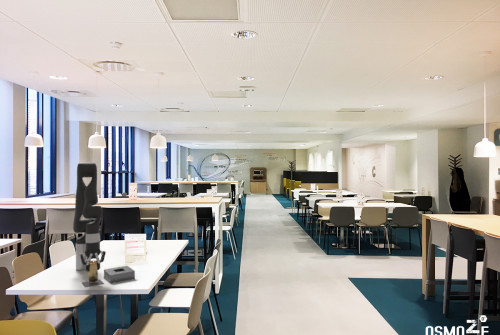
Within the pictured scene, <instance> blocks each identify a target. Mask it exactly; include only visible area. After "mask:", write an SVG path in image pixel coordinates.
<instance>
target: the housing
mask: <svg viewBox="0 0 500 335" xmlns="http://www.w3.org/2000/svg"><path fill="white" fill-rule="evenodd" d="M135 272H136V270H134V269H132V268H131V267H130V266H128V265H124V266H118V267H117V266H116V267H111V268H104V269H103V278H104V280H106V281H107V282H108V283H110V284H113V283H119V282H124V281H131V280H135V277H136V276H135V274H136V273H135Z"/></svg>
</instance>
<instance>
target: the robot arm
mask: <svg viewBox="0 0 500 335" xmlns="http://www.w3.org/2000/svg"><path fill="white" fill-rule="evenodd" d="M83 178H91V180H90V181H89V183H88V184H87V185H86V183H85V181H84V179H83ZM97 186H98V166H97V163H95V162H79V163H77V167H76V190H75V192H76V193H75V200H74V201H75V202H74V203H75V206H74V209H75V210H74V217H73V222H72V223H73V224H72V229H73V232H74V233H75V234H80V233H83V235H81V236H79V237H77V238H76V239H75V270H76V271H86V272H89V265H88V264H89V262H90V261H92V260H93V259H94V260H96V261H97V266H98V271H100V269H101V263H103V262H104V261H105V257H106V255H107V253H106V252H107V251H105V250H101V234H100V224H101V220H102V216H103V212H104V208H103V207H102V206H100V205H98V203H99V199H98V198H99V197H98V187H97ZM82 216H83V218H82ZM92 219H94V220H93V221H92ZM99 256H100V257H99Z"/></svg>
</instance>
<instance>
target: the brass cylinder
mask: <svg viewBox="0 0 500 335" xmlns="http://www.w3.org/2000/svg"><path fill="white" fill-rule="evenodd" d="M88 265H89V272H88V281H89V282H96V281H98V280H99V278H98V277H99V272H98V271H99V270H98V266H97V260H96V259H94V260H91V261H90V262H89V264H88Z"/></svg>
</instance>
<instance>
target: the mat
mask: <svg viewBox="0 0 500 335" xmlns="http://www.w3.org/2000/svg"><path fill="white" fill-rule="evenodd" d="M81 284H82V285H83V287H84V288H89V287H96V286H100V285H104V284H105V283H104V282H103V281H102V280H101V278H98V281H96V282H89V280H88V281H83V282H81Z"/></svg>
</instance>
